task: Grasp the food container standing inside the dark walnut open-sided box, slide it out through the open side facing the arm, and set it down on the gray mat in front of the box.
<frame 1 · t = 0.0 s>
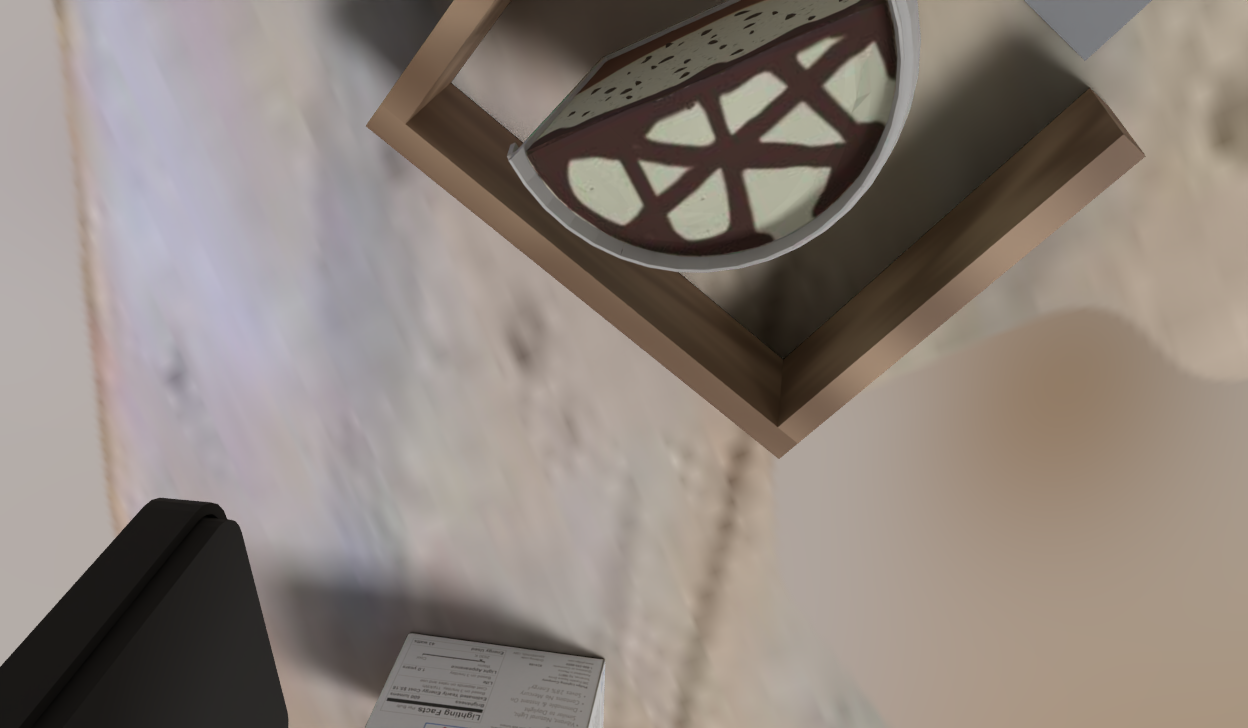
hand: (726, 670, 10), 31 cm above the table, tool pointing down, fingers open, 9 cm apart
food container: (755, 83, 38), resting in open side box
open side box: (754, 85, 38), on the table
light bulb box: (509, 684, 56), on the table
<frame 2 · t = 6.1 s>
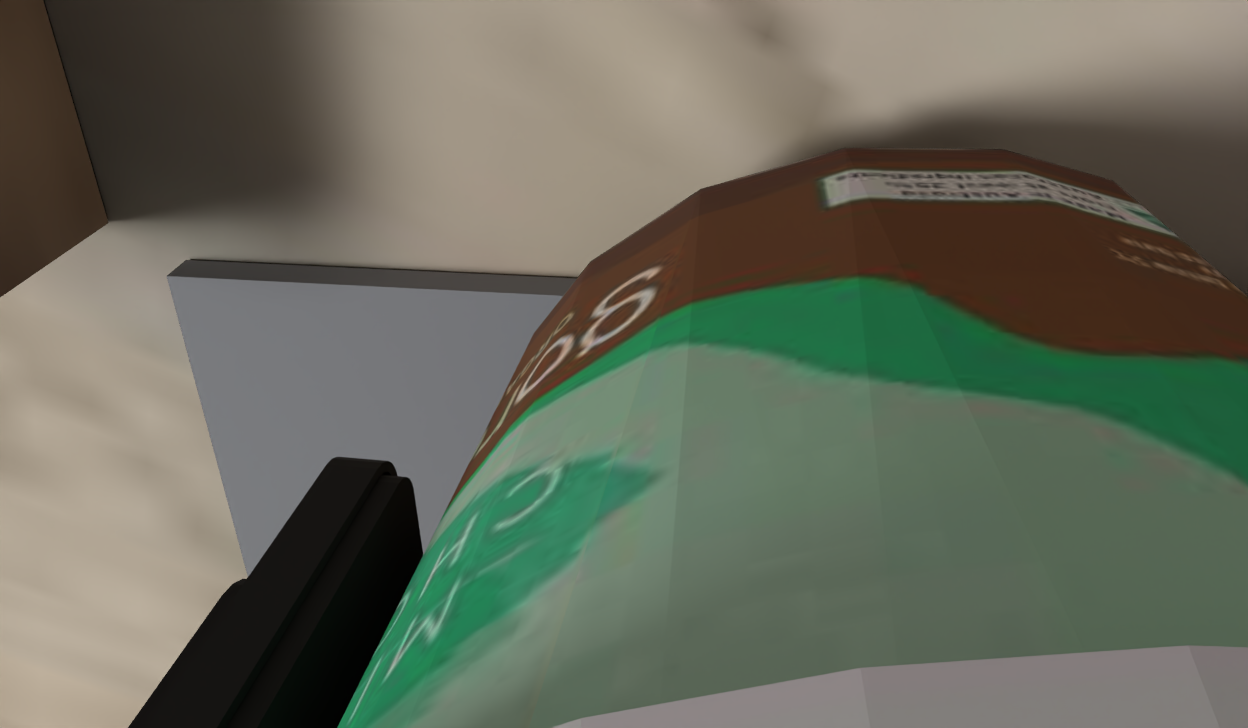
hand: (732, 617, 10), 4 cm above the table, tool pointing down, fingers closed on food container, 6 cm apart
food container: (662, 422, 13), point 1 cm above the table, touching gripper
gray mat: (730, 685, 17), on the table
when the fingers open (4 cm above the table, at t = 8.1 s): food container stays where it is, resting on gray mat.
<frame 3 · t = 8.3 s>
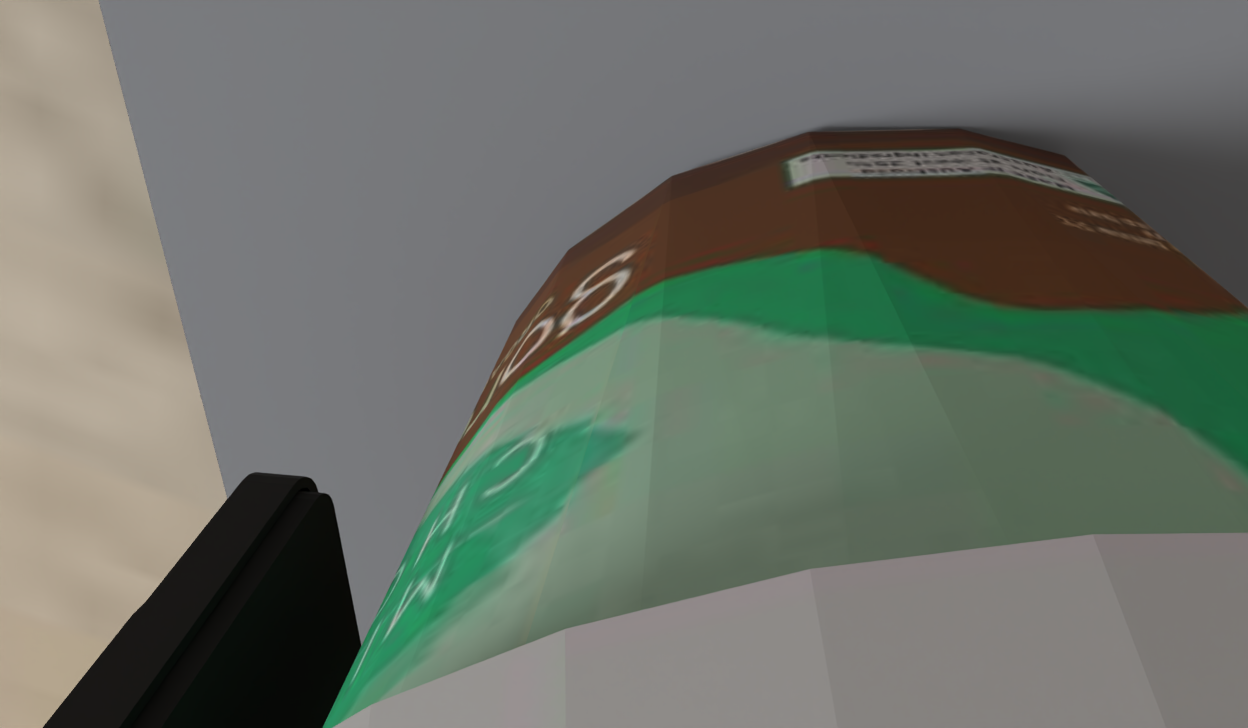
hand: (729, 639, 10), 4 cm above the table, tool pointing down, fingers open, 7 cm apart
food container: (643, 403, 13), point 1 cm above the table, touching gray mat, gripper
gray mat: (752, 393, 14), on the table
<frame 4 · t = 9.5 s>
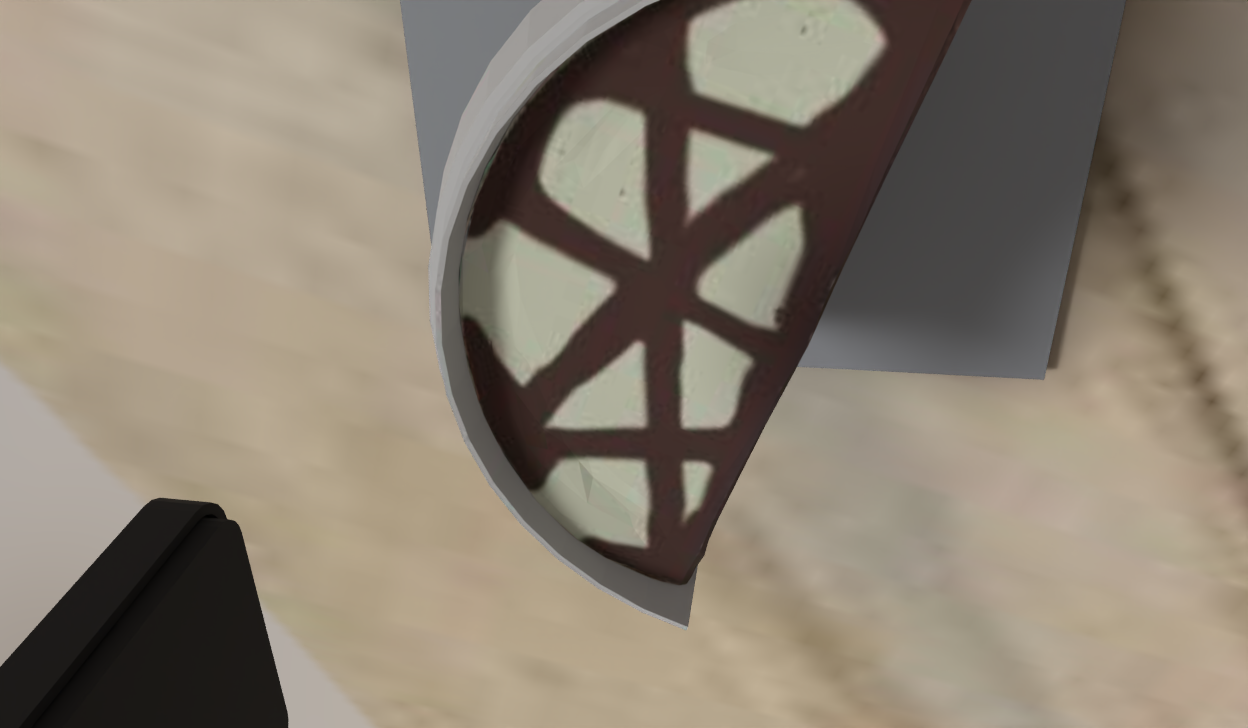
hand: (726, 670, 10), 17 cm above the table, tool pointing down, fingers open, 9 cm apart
food container: (681, 80, 24), resting on gray mat
gray mat: (744, 81, 24), on the table
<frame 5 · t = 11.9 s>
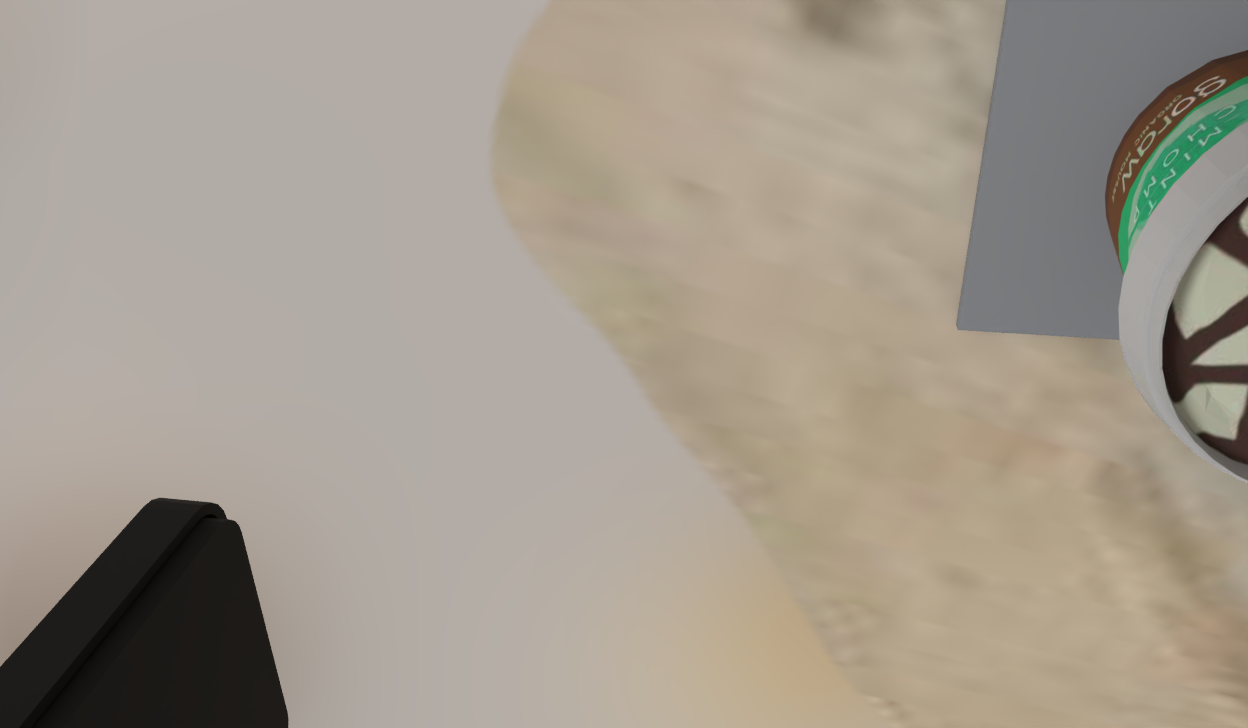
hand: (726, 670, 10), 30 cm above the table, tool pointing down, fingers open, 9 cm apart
food container: (1175, 152, 36), resting on gray mat
gray mat: (1215, 153, 36), on the table
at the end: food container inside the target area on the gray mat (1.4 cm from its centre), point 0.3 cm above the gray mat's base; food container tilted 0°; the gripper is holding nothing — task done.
